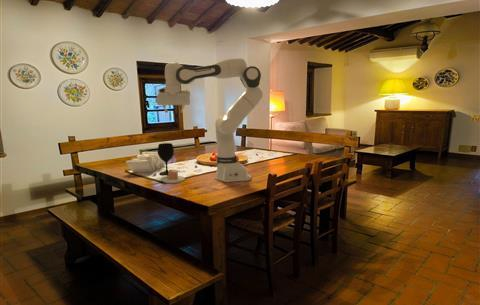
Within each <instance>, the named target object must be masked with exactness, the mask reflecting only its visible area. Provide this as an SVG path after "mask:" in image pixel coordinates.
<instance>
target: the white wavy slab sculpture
mask: <svg viewBox="0 0 480 305" xmlns="http://www.w3.org/2000/svg"><path fill="white" fill-rule="evenodd" d="M125 164H126V166H128V168H129V169H130V171H131V173H133V172H137V174H145V172H148V173H153V172H155V171H156V170H159V169H161V168H163V167H165V161H163V160H162V159H161V158H160V157H159V155H158V151H141V154H138V155H136V158H131V159H130V160H125Z"/></svg>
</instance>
